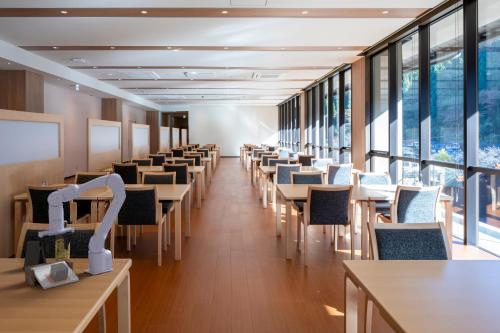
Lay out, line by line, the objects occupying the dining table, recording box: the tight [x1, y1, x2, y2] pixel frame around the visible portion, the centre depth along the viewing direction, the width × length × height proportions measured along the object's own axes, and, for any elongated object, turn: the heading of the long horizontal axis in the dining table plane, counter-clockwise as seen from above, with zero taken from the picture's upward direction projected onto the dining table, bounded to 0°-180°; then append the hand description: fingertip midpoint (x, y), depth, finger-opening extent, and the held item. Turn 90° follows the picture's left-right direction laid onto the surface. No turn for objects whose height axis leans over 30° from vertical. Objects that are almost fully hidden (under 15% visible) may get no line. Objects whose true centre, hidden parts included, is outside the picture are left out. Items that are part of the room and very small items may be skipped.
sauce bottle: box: [54, 220, 71, 261], centre depth 217 cm, size 6×6×20 cm
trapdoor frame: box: [24, 259, 74, 286], centre depth 192 cm, size 17×8×6 cm, turn 136°
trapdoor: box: [31, 261, 80, 290], centre depth 188 cm, size 14×14×1 cm
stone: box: [50, 263, 69, 282], centre depth 185 cm, size 5×5×5 cm
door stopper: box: [23, 240, 47, 271], centre depth 210 cm, size 9×6×12 cm, turn 173°
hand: (57, 251), depth 197 cm, fingers open, 7 cm apart
